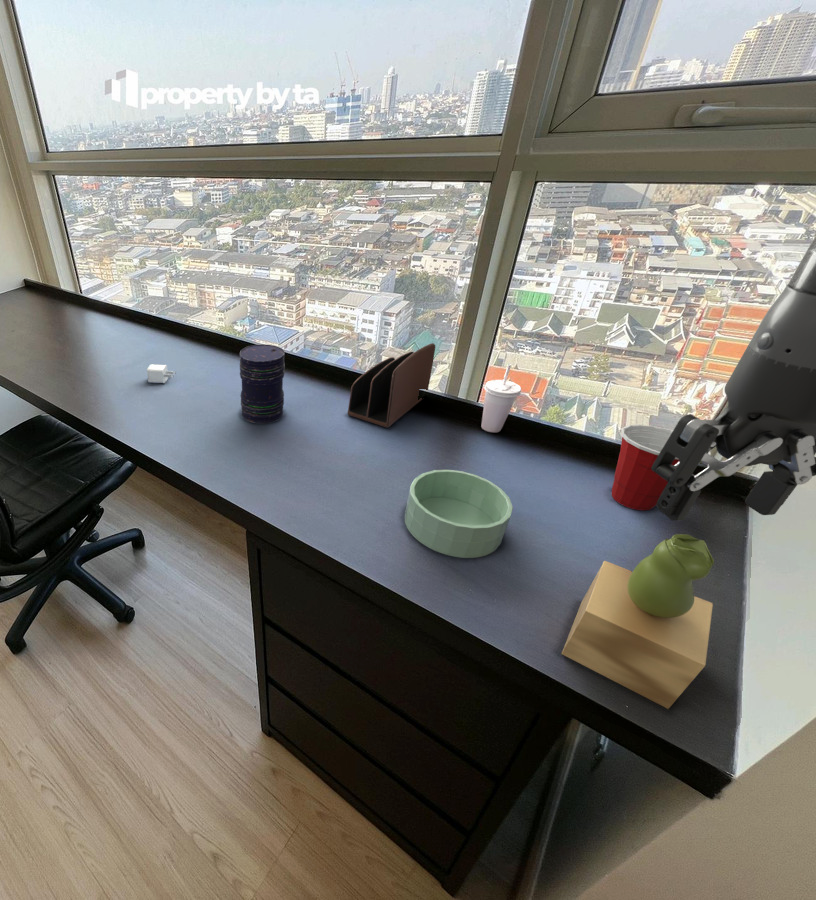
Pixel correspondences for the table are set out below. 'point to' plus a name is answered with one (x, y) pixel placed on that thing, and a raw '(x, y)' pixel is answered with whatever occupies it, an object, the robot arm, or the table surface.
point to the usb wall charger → (158, 373)
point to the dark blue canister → (262, 383)
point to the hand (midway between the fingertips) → (713, 512)
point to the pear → (670, 576)
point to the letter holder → (391, 387)
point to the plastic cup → (640, 466)
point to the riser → (638, 639)
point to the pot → (457, 513)
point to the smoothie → (498, 402)
